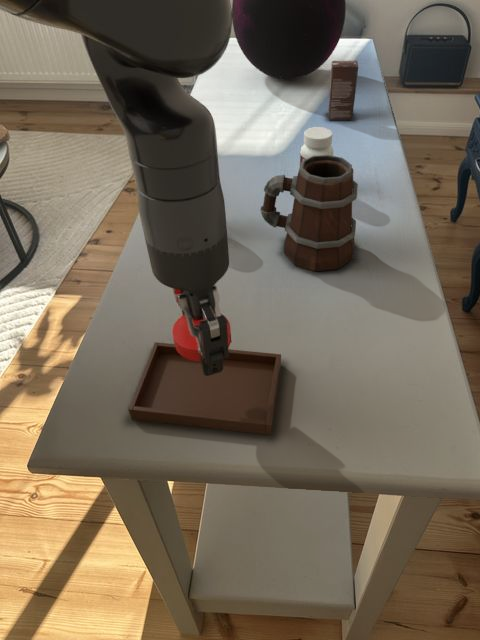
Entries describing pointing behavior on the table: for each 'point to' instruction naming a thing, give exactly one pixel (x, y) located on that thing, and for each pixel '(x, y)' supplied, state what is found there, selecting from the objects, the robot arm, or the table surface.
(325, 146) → the pill bottle
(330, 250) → the mug
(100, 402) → the table surface
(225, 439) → the table surface
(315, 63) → the dark purple ball
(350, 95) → the box
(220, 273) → the robot arm
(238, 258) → the table surface
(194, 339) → the lid
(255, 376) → the tray
